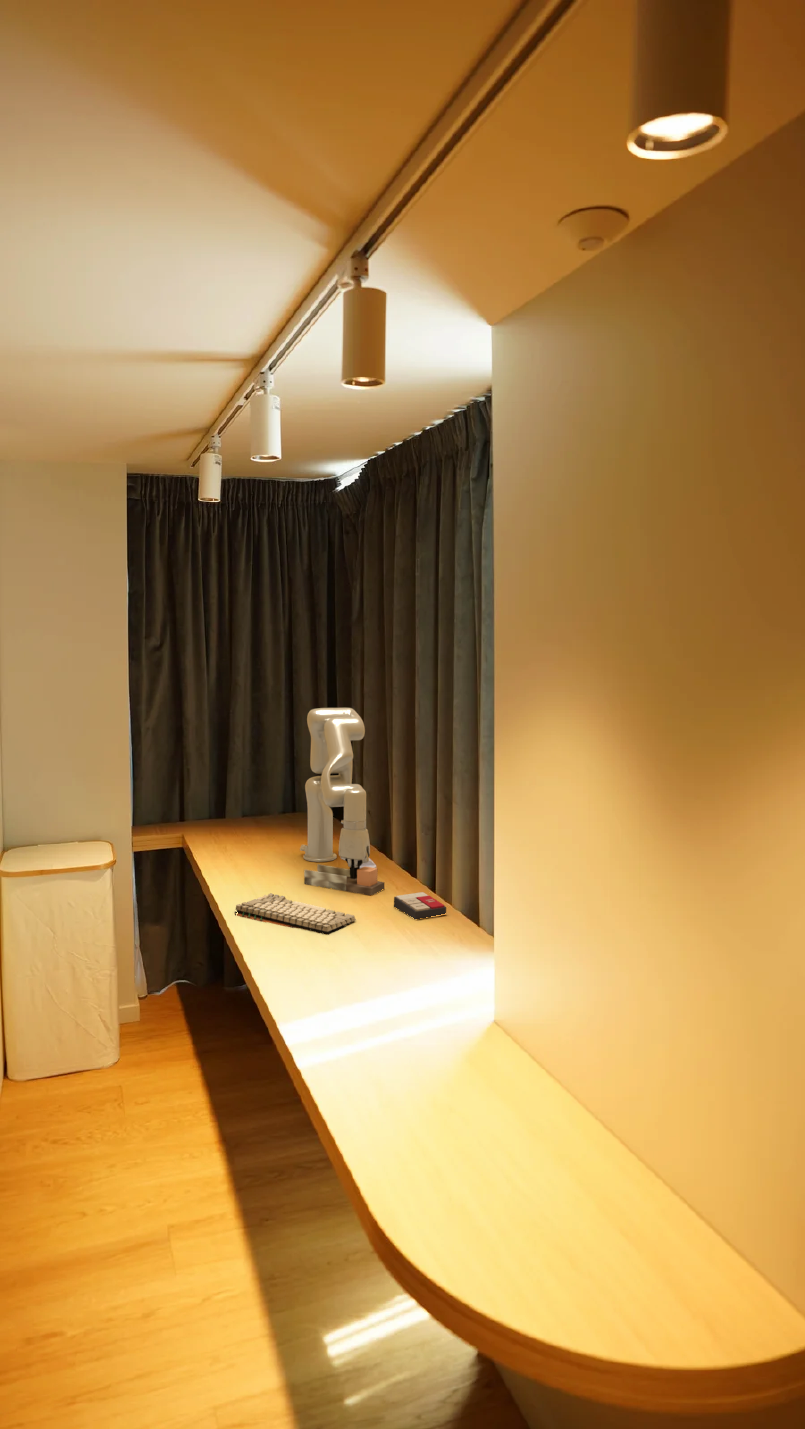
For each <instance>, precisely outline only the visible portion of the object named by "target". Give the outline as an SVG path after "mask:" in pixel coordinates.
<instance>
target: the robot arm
mask: <svg viewBox="0 0 805 1429" xmlns="http://www.w3.org/2000/svg"><path fill="white" fill-rule="evenodd" d="M306 721H307V727H308V731H309V734H310V759H309V761H310V762H309V763H310V769H311V771H312V772H313V773H315V774H319V775H317V776H312V777H310V778H308V779H307V780H306V782H305V785H304V789H305V796H306V803H307V804H306V805H307V844H301V845H300V847H299V852H300V851H302V852H304V853H305V854H303V859H304V860H305V861H309V862H314V863H315V862H316V863H322V862H323V863H324V862H325V863H326V862H331V861H334V860H336V859H337V854H336V853H335V852H333V848H334V847H333V840H334V838H333V837H334V836H333V835H334V834H333V833H334V831H333V828H334V827H333V824H334V823H333V822H334V820H333V818H334V817H333V816H334V813H333V810H332V808H339V807H340V808H341V807H343V819H341V821H340V824H342V825H343V827H342V828H341V829H340V834H339V835H340V836H339V842H338V856H339V857H340V859H341V860H343V861H345V863H347V866H348V867H349V869H350V878H351V879H356V878H357V870H358V869H360V866H361V865H362V864H363V863H367V862H369V858H370V854H371V847H370V846H371V844H370V843H371V842H370V834H369V830H368V829H367V792H366V790H365V789H364V788H363V786H362V785H360V784H358V783H352V782H353V780H352V779H353V759H354V753H353V746H352V743H351V742H352V741H361V740H362V739H364V737H365V732H366V729H365V728H366V727H365V724H364V721H363V719H362V717H361V716H360V715H359V713H357V711H356V710H355V709H354V708H352V707H320V708H312V709H310V710H309V712H308V713H307V718H306ZM320 774H321V775H320ZM331 774H338V775H331Z"/></svg>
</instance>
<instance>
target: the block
mask: <svg viewBox="0 0 805 1429" xmlns="http://www.w3.org/2000/svg"><path fill="white" fill-rule="evenodd" d="M377 881H378V867H376V868H372V867H366V866H365V867H362V868H360V869H358V870H357V884H359V885H365V886H372V885H374V884H376V883H377Z"/></svg>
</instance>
